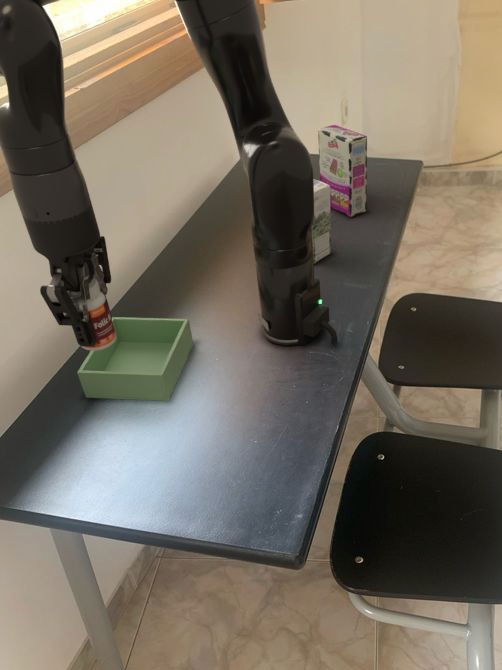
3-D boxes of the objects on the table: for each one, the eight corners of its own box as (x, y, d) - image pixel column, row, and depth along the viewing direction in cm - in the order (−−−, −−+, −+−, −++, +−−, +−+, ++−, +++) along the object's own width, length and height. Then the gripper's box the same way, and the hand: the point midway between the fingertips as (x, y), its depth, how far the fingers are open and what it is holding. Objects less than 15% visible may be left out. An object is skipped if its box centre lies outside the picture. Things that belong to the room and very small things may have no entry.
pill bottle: (107, 353, 83) (89, 295, 78) (73, 350, 84) (52, 292, 79) (123, 332, 87) (107, 275, 81) (90, 329, 88) (71, 272, 82)
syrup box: (310, 246, 136) (306, 176, 126) (332, 254, 133) (330, 183, 124) (292, 257, 133) (286, 186, 123) (314, 265, 130) (310, 193, 120)
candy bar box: (368, 211, 147) (368, 135, 136) (350, 218, 145) (349, 141, 134) (336, 196, 154) (334, 123, 143) (319, 202, 152) (316, 128, 141)
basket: (193, 343, 112) (188, 318, 108) (168, 400, 101) (162, 375, 97) (118, 341, 113) (111, 317, 110) (86, 397, 102) (76, 372, 99)
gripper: (61, 234, 67) (104, 367, 79) (110, 179, 78) (142, 304, 89) (-8, 232, 68) (45, 365, 80) (50, 178, 79) (89, 302, 90)
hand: (96, 332), depth 85 cm, fingers closed on pill bottle, 4 cm apart
